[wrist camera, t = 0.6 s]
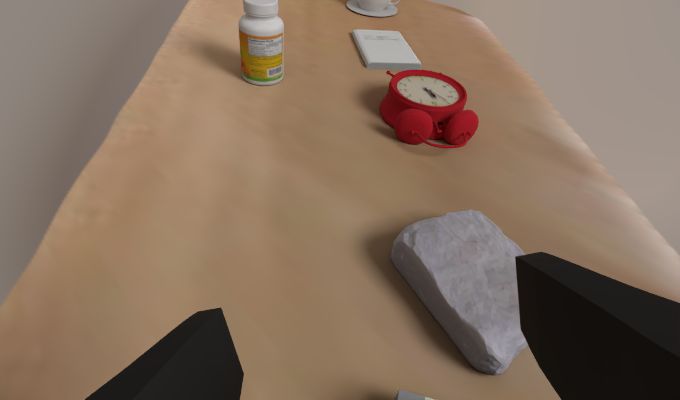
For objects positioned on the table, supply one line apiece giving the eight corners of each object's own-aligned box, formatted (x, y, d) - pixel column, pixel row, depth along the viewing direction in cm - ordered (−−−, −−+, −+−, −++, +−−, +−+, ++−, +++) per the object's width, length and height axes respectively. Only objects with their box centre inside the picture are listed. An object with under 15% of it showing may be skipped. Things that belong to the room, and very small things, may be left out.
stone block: (457, 236, 39) (375, 257, 33) (483, 198, 36) (398, 214, 30) (556, 344, 32) (474, 393, 26) (598, 308, 29) (515, 355, 23)
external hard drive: (366, 72, 59) (351, 38, 68) (419, 73, 61) (398, 39, 69) (368, 61, 58) (352, 28, 67) (422, 63, 60) (400, 30, 68)
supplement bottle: (246, 65, 56) (242, -11, 49) (286, 70, 56) (286, -6, 49) (238, 84, 52) (231, 3, 45) (280, 88, 52) (280, 9, 45)
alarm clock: (451, 67, 54) (508, 101, 41) (442, 113, 57) (492, 158, 44) (375, 64, 52) (408, 98, 39) (370, 112, 55) (399, 158, 42)
